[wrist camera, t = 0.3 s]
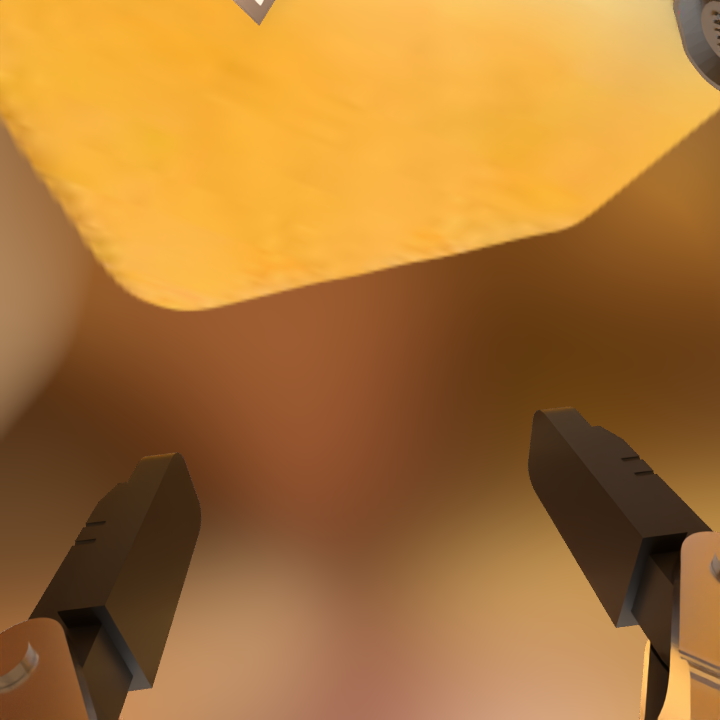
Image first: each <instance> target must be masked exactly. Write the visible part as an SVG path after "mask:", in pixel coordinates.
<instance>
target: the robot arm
mask: <svg viewBox="0 0 720 720" xmlns="http://www.w3.org/2000/svg"><path fill="white" fill-rule="evenodd" d="M528 471H529V476H530V480H531V483H532V486H533V488H534V490H535V492H536V494H537V495H538V497H539V499H540V501H541V502H542V504H543V506H544V507H545V509H546V511H547V512H548V514H549V516H550V517H551V519H552V521H553V522H554V524H555V526H556V528H557V529H558V531H559V533H560V534H561V536H562V538H563V539H564V541H565V543H566V544H567V546H568V548H569V549H570V551H571V553H572V554H573V556H574V558H575V559H576V561H577V563H578V565H579V566H580V568H581V570H582V571H583V573H584V575H585V576H586V578H587V580H588V581H589V583H590V585H591V586H592V588H593V590H594V591H595V593H596V595H597V597H598V598H599V600H600V602H601V603H602V605H603V607H604V608H605V610H606V612H607V613H608V615H609V617H610V618H611V620H612V622H613V624H614V625H615V627H616V628H617V627H625V626H632V625H640V627H641V628H642V630H643V631H644V633H645V634H646V636H647V638H648V640H647V643H646V647H645V655H644V668H643V680H642V691H641V705H640V717H639V720H720V533H719V532H713V531H712V530H711V529H710V528H709V527H708V526H707V525H706V524H705V523H704V522H703V521H702V520H701V519H700V518H699V517H698V516H697V515H696V514H695V513H694V512H693V511H692V509H691V508H690V507H689V506H688V505H687V504H686V503H685V502H684V501H683V500H682V499H681V498H680V497H679V496H678V495H677V494H676V493H675V492H674V491H673V490H672V489H671V488H670V487H669V486H668V485H667V484H666V483H665V482H664V481H663V480H662V479H661V478H660V477H659V476H658V475H657V474H654V473H653V470H652V469H651V468H650V467H649V465H648V464H647V463H646V462H645V461H644V460H640V458H639V455H638V454H637V453H636V452H635V451H634V450H633V449H632V448H631V447H630V446H629V445H628V444H627V443H626V442H625V441H624V440H623V439H621V438H620V437H618V436H616V435H615V434H613V433H611V432H609V431H608V430H606V429H604V428H602V427H601V426H594V427H591V425H590V424H589V423H588V422H587V421H586V420H585V419H584V418H583V417H582V416H581V415H580V414H579V412H578V411H577V410H576V409H575V408H573V407H562V408H553V409H545V410H538V411H536V412H535V414H534V417H533V424H532V433H531V442H530V450H529V459H528ZM200 526H201V508H200V503H199V500H198V497H197V494H196V491H195V488H194V486H193V483H192V480H191V477H190V474H189V471H188V468H187V466H186V463H185V460H184V458H183V456H182V455H181V454H179V453H171V454H163V455H154V456H146V457H143V458H141V460H140V461H139V463H138V464H137V466H136V468H135V470H134V471H133V473H132V475H131V477H130V479H129V481H128V482H125V483H119V484H117V485H116V486H115V487H114V488H113V489H112V490H111V491H110V492H109V493H108V494H107V495H106V496H105V497H104V498H102V499H101V500H100V501H99V502H98V504H97V506H96V507H95V509H94V511H93V512H92V514H91V515H90V517H89V519H88V521H87V522H86V527H84V528H83V529H82V530H81V532H80V534H79V535H78V537H77V539H76V540H75V546H72V547H71V549H70V551H69V552H68V554H67V556H66V557H65V559H64V561H63V562H62V564H61V566H60V567H59V569H58V571H57V572H56V574H55V576H54V577H53V579H52V581H51V582H50V584H49V586H48V588H47V589H46V591H45V592H44V594H43V596H42V597H41V599H40V601H39V602H38V604H37V606H36V608H35V609H34V611H33V612H32V614H31V616H30V617H29V619H28V620H27V621H23V622H21V623H19V624H16V625H14V626H12V627H10V628H8V629H7V630H5V631H3V632H2V633H0V720H123V718H122V716H121V714H120V713H121V710H122V707H123V705H124V702H125V699H126V696H127V693H128V691H134V690H141V689H148V688H152V687H153V683H154V680H155V676H156V673H157V670H158V667H159V664H160V660H161V657H162V654H163V650H164V647H165V643H166V640H167V637H168V634H169V630H170V627H171V624H172V621H173V617H174V614H175V611H176V607H177V604H178V600H179V598H180V594H181V591H182V588H183V584H184V581H185V578H186V574H187V571H188V568H189V565H190V561H191V558H192V554H193V551H194V548H195V545H196V541H197V538H198V535H199V531H200Z"/></svg>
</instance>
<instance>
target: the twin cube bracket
mask: <svg viewBox="0 0 720 720" xmlns="http://www.w3.org/2000/svg"><path fill="white" fill-rule="evenodd" d="M233 1H234V2H235V3H236V4H237V5H238V6H239V7H240V8H241V9H242V10H244V11H245V12H246V13H247V14H248V15H249V16H250V17H251V18H252V19H253V20H254V21H255V22H256V23H257V24H258V25H260V24H261V22H262V20H263V19H264V17H265V16H266V14H267V12H268V11H269V9H270V8H271V6H272V4H273V3H274V1H275V0H233Z"/></svg>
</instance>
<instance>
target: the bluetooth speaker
mask: <svg viewBox="0 0 720 720" xmlns="http://www.w3.org/2000/svg"><path fill="white" fill-rule="evenodd" d="M673 9H674V13H675V17H676V20H677V24H678V28H679V32H680V35H681V39H682V44H683V48H684V51H685V53H686V55H687V57H688V59H689V60H690V62H691V63H692V65H693V66H694V67H695V69H696V70H697V71H698V72H699V73H700V75H701V76H702V77H703V78H704V79H705V80H706V81H707V82H708V83H709V84H711V85H712V86H713V87H715V88H716V89H718V90H719V91H720V0H674V4H673Z"/></svg>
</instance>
